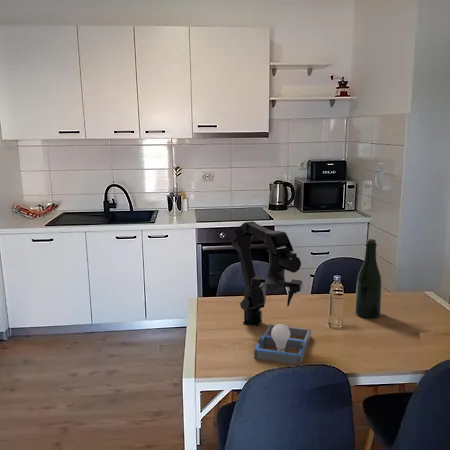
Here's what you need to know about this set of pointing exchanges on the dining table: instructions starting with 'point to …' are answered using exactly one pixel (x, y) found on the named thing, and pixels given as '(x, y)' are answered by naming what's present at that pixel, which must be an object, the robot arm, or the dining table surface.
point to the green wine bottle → (369, 285)
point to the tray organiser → (291, 344)
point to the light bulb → (280, 336)
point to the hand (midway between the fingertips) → (276, 304)
